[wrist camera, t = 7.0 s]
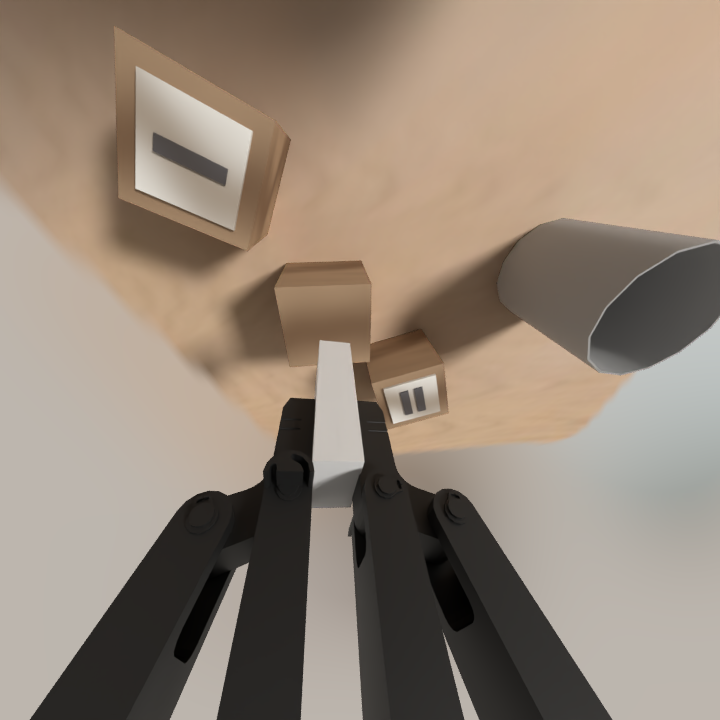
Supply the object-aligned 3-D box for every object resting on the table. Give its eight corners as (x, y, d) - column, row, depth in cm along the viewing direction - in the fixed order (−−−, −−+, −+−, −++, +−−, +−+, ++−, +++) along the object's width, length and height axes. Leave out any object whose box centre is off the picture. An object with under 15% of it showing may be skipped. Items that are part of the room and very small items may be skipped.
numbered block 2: (362, 345, 26) (371, 386, 20) (420, 328, 25) (445, 365, 20) (376, 388, 29) (387, 432, 24) (427, 373, 29) (449, 415, 24)
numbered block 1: (186, 79, 14) (107, 20, 9) (290, 139, 16) (274, 119, 11) (177, 194, 17) (113, 198, 12) (267, 234, 19) (245, 252, 14)
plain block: (286, 262, 21) (274, 287, 16) (361, 260, 21) (371, 284, 16) (297, 329, 24) (289, 366, 19) (361, 326, 24) (369, 361, 20)
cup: (493, 322, 26) (572, 387, 18) (500, 235, 21) (610, 268, 13) (578, 300, 25) (698, 355, 17) (603, 206, 21) (786, 221, 12)
